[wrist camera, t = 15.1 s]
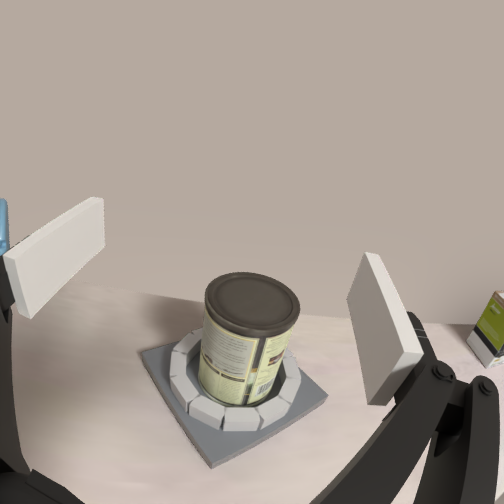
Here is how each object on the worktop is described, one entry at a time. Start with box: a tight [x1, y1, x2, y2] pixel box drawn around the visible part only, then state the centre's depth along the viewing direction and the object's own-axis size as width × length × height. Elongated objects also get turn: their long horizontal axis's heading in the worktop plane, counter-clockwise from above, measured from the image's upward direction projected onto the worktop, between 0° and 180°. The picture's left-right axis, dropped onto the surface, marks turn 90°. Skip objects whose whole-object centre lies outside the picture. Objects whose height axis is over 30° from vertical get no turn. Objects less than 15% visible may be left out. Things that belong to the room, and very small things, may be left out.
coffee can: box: [198, 272, 300, 408], centre depth 36 cm, size 10×10×14 cm
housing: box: [142, 327, 328, 469], centre depth 39 cm, size 19×19×4 cm
